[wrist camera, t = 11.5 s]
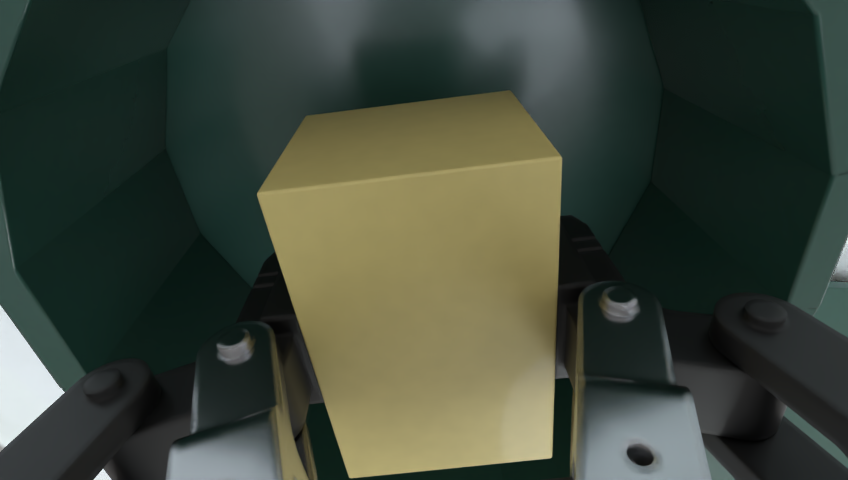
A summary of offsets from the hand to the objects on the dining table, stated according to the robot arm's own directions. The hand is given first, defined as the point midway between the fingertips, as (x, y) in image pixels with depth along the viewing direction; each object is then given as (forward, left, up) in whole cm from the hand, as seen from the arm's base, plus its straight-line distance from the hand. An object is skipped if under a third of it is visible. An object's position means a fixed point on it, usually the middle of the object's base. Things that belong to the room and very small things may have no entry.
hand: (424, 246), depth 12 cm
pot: (0, 0, -6) cm, 6 cm away
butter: (0, 0, 0) cm, 0 cm away
